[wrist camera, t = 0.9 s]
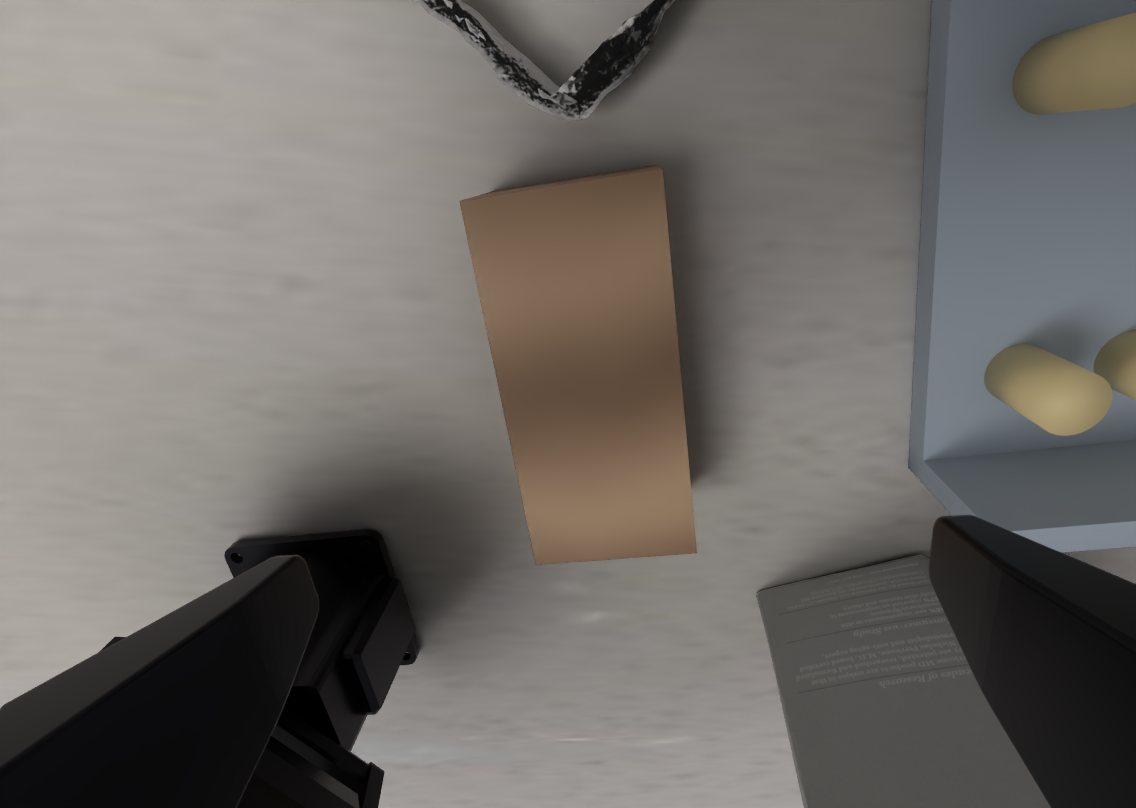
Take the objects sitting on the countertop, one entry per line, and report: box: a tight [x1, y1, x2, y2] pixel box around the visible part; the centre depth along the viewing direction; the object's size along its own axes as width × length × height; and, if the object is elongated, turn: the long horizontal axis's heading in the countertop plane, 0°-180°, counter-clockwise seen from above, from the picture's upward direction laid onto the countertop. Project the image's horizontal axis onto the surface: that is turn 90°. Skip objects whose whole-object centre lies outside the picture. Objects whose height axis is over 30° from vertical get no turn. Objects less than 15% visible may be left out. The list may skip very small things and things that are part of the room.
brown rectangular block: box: [460, 166, 697, 565], centre depth 18 cm, size 11×5×4 cm, turn 9°
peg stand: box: [908, 0, 1136, 553], centre depth 15 cm, size 15×8×5 cm, turn 9°
